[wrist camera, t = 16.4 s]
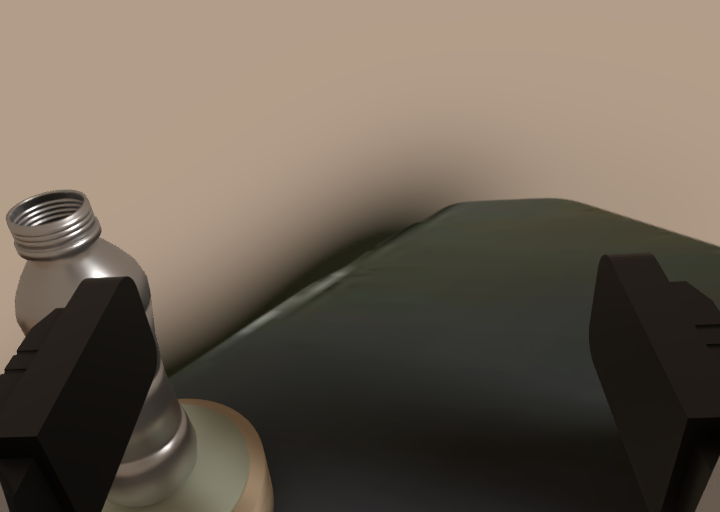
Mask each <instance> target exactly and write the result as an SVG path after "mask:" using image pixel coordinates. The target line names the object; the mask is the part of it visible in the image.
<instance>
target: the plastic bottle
mask: <svg viewBox="0 0 720 512" xmlns="http://www.w3.org/2000/svg"><path fill="white" fill-rule="evenodd" d="M6 221H7V225H8V227H9V229H10V231H11V234H12V236H13V238H14V240H15V241H14V245H15V248H16V250H17V252H18V254H19V255H20V256H21V257H22V258H24V259H26V260H27V263H26V265H25V267H24V269H23V272H22V274H21V277H20V280H19V284H18V287H17V291H16V296H15V310H16V311H15V312H16V319H17V322H18V324H19V326H20V327H21V329H22V331H23V333H24V335H25V336H27V334H28V333H29V331H30V330H31V328H32V327H34V326H35V325H36V324H37V323H38V322H40V321H41V320H42V319H43V318H44V317H46V316H47V315H48V314H49V313H51V312H52V311H53V310H54V309H55V308H65V307H66V305H67V304H68V302H69V300H70V299H71V297H72V295H73V294H74V292H75V291H76V289H77V287H78V286H79V284H80V283H81V281H83V280H84V279H86V278H101V277H122V276H129V277H131V278H132V279H133V280H134V282H135V284H136V286H137V289H138V292H139V295H140V298H141V301H142V304H143V307H144V310H145V313H146V316H147V319H148V322H149V325H150V328H151V331H152V334H153V337H154V340H155V343H156V349H157V367H156V373H155V376H154V379H153V382H152V384H151V387H150V389H149V392H148V395H147V397H146V400H145V402H144V405H143V407H142V410H141V412H140V415H139V417H138V420H137V423H136V425H135V428H134V430H133V433H132V435H131V438H130V440H129V443H128V446H127V448H126V451H125V453H124V456H123V458H122V461H121V463H120V466H119V469H118V471H117V474H116V476H115V479H114V481H113V484H112V486H111V489H110V491H109V494H108V497H107V499H106V500H108V501H109V502H112V503H114V504H117V505H122V506H128V507H144V506H149V505H152V504H156V503H158V502H161V501H163V500H165V499H167V498H168V497H170V496H171V495H173V494H174V493H175V492H176V491H178V490H179V489H180V488H181V487H182V486H183V484H184V483H185V482H186V481H187V479H188V478H189V476H190V474H191V473H192V471H193V469H194V467H195V464H196V461H197V453H198V451H197V436H196V431H195V429H194V427H193V425H192V423H191V421H190V419H189V417H188V415H187V413H186V412H185V410H184V409H183V407H182V406H181V404H180V403H179V402H178V400H177V398H176V395H175V393H174V391H173V389H172V386H171V384H170V382H169V380H168V378H167V376H166V373H165V371H164V367H163V363H162V359H161V356H160V351H159V346H158V342H157V338H156V334H155V327H154V318H153V311H152V302H151V294H150V288H149V284H148V279H147V276H146V274H145V272H144V271H143V270H142V268H141V267H140V266H139V264H138V263H137V262H136V261H135V259H134V258H133V257H131V256H130V255H128V254H127V253H126V252H124V251H123V250H121V249H120V248H118V247H117V246H115V245H113V244H111V243H109V242H108V241H106V240H104V239H102V238H100V237H99V236H100V234H101V226H100V223H99V221H98V219H97V217H95V216H94V213H93V211H92V208H91V206H90V203H89V200H88V199H87V197H86V195H85V194H83V193H82V192H79V191H76V190H55V191H50V192H45V193H41V194H38V195H35V196H32V197H30V198H27V199H25V200H23V201H21V202H20V203H18V204H17V205H15V206H14V207H13V208H11V210H10V211H9V212H8V213H7V215H6Z"/></svg>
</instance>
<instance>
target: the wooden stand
mask: <svg viewBox="0 0 720 512" xmlns="http://www.w3.org/2000/svg"><path fill="white" fill-rule="evenodd" d="M177 400H178V402H179V403H180V404H181V406H182V407H183V409H184V410H185V412H186V413H187V415H188V417H189V419H190V421H191V423H192V425H193V427H194V429H195V431H196V436H197V451H198V453H197V461H196V464H195V467H194V469H193V471H192V473H191V474H190V476H189V478H188V479H187V481H186V482H185V483H184V484H183V486H182V487H181V488H180V489H179V490H178V491H176V492H175V493H174V494H173V495H171V496H170V497H168V498H167V499H165V500H163V501H161V502H158V503H156V504H152V505H149V506H144V507H128V506H122V505H117V504H114V503H112V502H109V501H108V500H106V502H105V504H104V507H103V509H102V512H273V511H274V493H273V487H272V482H271V478H270V474H269V470H268V466H267V461H266V457H265V453H264V449H263V445H262V443H261V440H260V437H259V435H258V434H257V432H256V430H255V428H254V427H253V426H252V425H251V423H250V422H249V421H248V420H247V419H246V418H245V417H243V416H242V415H241V414H240V413H238V412H236V411H235V410H233V409H232V408H229V407H227V406H225V405H222V404H219V403H216V402H212V401H207V400H201V399H177Z"/></svg>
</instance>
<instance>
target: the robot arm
mask: <svg viewBox="0 0 720 512" xmlns="http://www.w3.org/2000/svg"><path fill="white" fill-rule="evenodd" d="M589 344H590V351H591V356H592V360H593V363H594V366H595V369H596V371H597V374H598V377H599V380H600V382H601V385H602V388H603V390H604V393H605V396H606V398H607V401H608V404H609V407H610V409H611V412H612V415H613V417H614V420H615V423H616V425H617V428H618V431H619V433H620V436H621V439H622V442H623V444H624V447H625V450H626V452H627V455H628V458H629V460H630V463H631V466H632V468H633V471H634V474H635V477H636V479H637V482H638V485H639V487H640V490H641V493H642V495H643V498H644V501H645V504H646V506H647V509H648V512H720V312H719V310H718V309H717V307H716V306H715V304H714V303H713V301H712V300H711V299H709V298H708V297H707V296H705V295H704V294H703V293H701V292H700V291H699V290H697V289H696V288H694V287H693V286H692V285H690V284H689V283H688V282H686V281H682V282H669V280H668V279H667V277H666V275H665V274H664V272H663V270H662V268H661V267H660V265H659V263H658V262H657V260H656V258H655V257H654V255H652V254H651V253H632V254H611V255H603V256H602V257H601V259H600V261H599V265H598V271H597V278H596V285H595V291H594V298H593V305H592V311H591V318H590V325H589ZM156 367H157V349H156V343H155V340H154V337H153V334H152V331H151V328H150V325H149V322H148V319H147V316H146V313H145V310H144V307H143V304H142V301H141V298H140V295H139V292H138V289H137V286H136V284H135V282H134V280H133V279H132V278H131V277H129V276H122V277H101V278H86V279H84V280H83V281H81V283H80V284H79V286H78V287H77V289H76V291H75V292H74V294H73V295H72V297H71V299H70V300H69V302H68V304H67V305H66V307H65V308H55V309H54V310H53V311H52V312H51V313H49V314H48V315H47V316H46V317H44V318H43V319H42V320H41V321H40V322H38V323H37V324H36V325H35V326H34V327H32V328H31V330H30V331H29V333H28V334H27V336H26V337H25V339H24V340H23V342H22V343H21V345H20V346H19V348H18V349H17V355H14V356H13V357H12V358H11V360H10V362H9V363H8V365H7V366H6V368H5V369H4V370H5V373H4V374H1V375H0V512H102V509H103V507H104V504H105V502H106V499H107V497H108V494H109V491H110V489H111V486H112V484H113V481H114V479H115V476H116V474H117V471H118V469H119V466H120V463H121V461H122V458H123V456H124V453H125V451H126V448H127V446H128V443H129V440H130V438H131V435H132V433H133V430H134V428H135V425H136V423H137V420H138V417H139V415H140V412H141V410H142V407H143V405H144V402H145V400H146V397H147V395H148V392H149V389H150V387H151V384H152V382H153V379H154V376H155V373H156Z"/></svg>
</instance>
